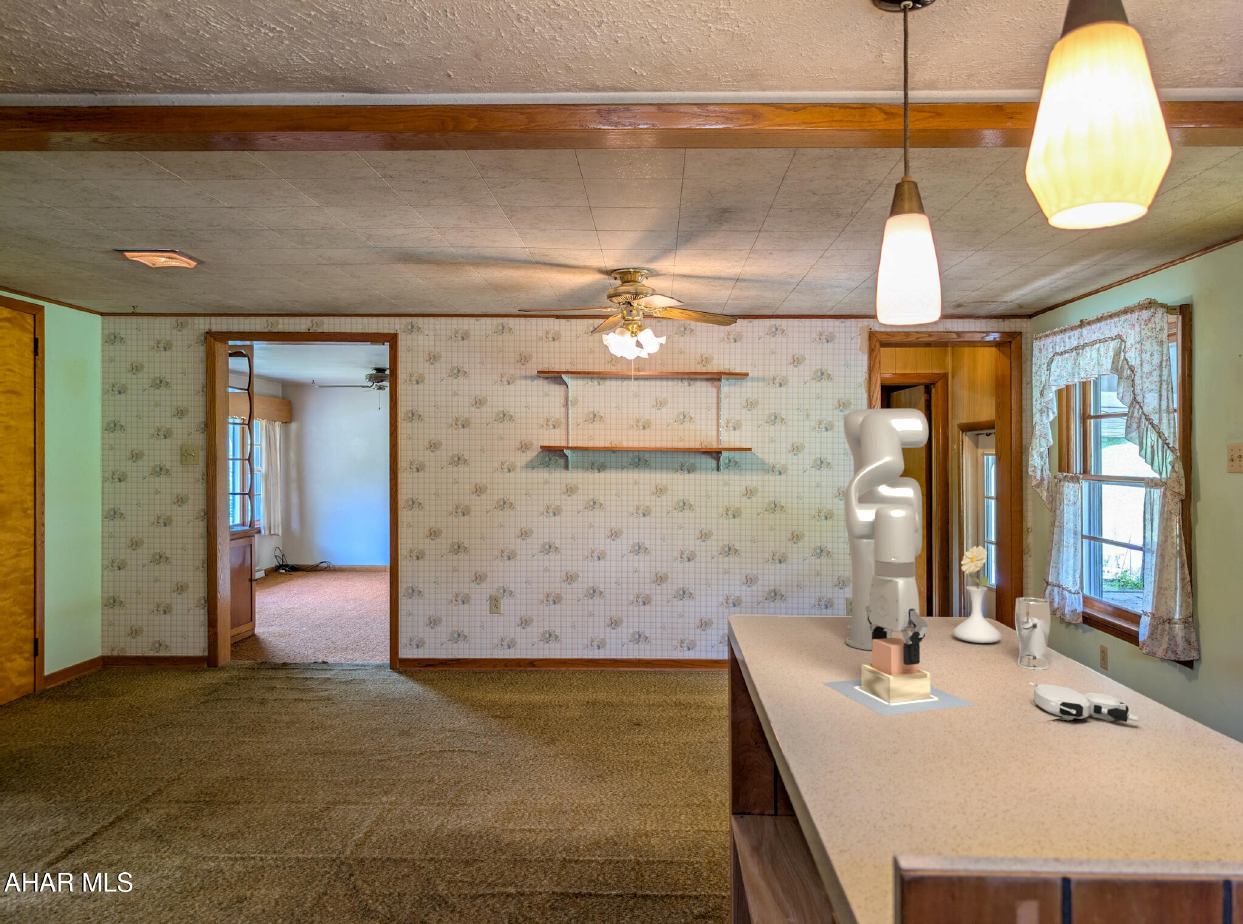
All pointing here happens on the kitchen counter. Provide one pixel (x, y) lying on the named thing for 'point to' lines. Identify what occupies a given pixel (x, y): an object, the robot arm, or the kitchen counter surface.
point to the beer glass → (1032, 631)
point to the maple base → (895, 684)
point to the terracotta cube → (890, 657)
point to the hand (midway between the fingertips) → (895, 657)
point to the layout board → (884, 708)
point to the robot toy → (1080, 704)
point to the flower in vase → (976, 602)
